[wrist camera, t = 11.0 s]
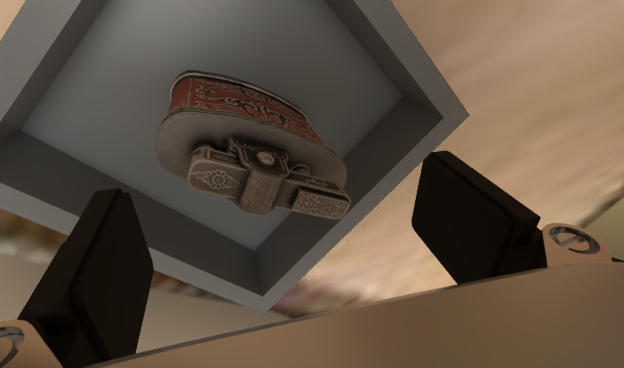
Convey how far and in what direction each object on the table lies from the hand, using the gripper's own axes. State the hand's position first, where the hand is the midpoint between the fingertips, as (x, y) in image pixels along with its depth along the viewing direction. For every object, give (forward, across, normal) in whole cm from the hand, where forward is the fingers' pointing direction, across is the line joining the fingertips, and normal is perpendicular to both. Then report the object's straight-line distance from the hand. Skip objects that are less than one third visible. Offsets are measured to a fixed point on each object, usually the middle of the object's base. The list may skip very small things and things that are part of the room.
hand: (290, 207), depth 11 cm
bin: (+12, +1, 0) cm, 12 cm away
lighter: (+11, +1, 0) cm, 11 cm away
